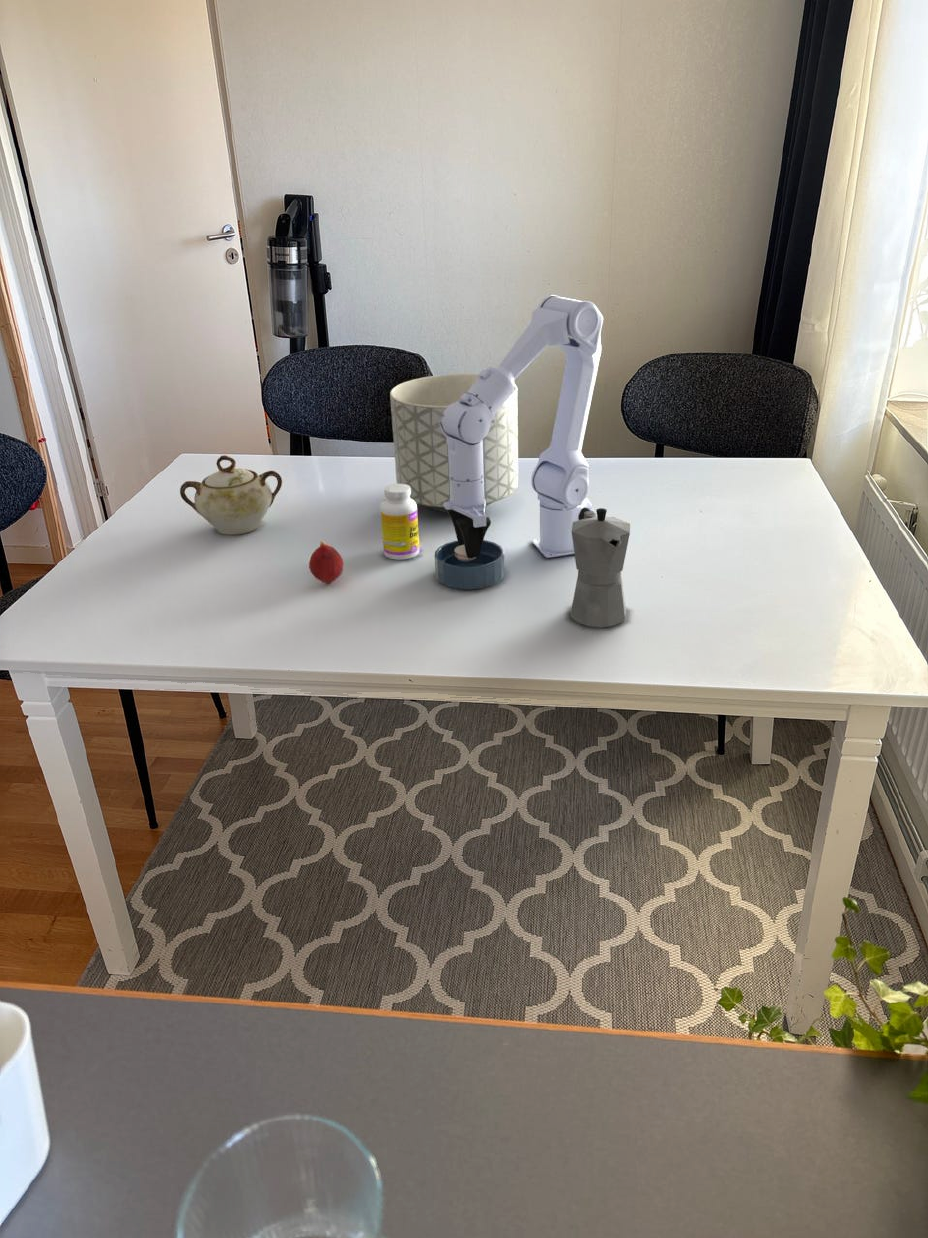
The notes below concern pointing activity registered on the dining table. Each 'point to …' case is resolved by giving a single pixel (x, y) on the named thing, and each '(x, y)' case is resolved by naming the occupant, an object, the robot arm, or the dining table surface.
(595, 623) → the coffeepot
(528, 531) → the dining table surface
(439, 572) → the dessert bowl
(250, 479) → the sugar bowl
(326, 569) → the onion
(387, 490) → the supplement bottle
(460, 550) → the beige pebble
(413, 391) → the planter
